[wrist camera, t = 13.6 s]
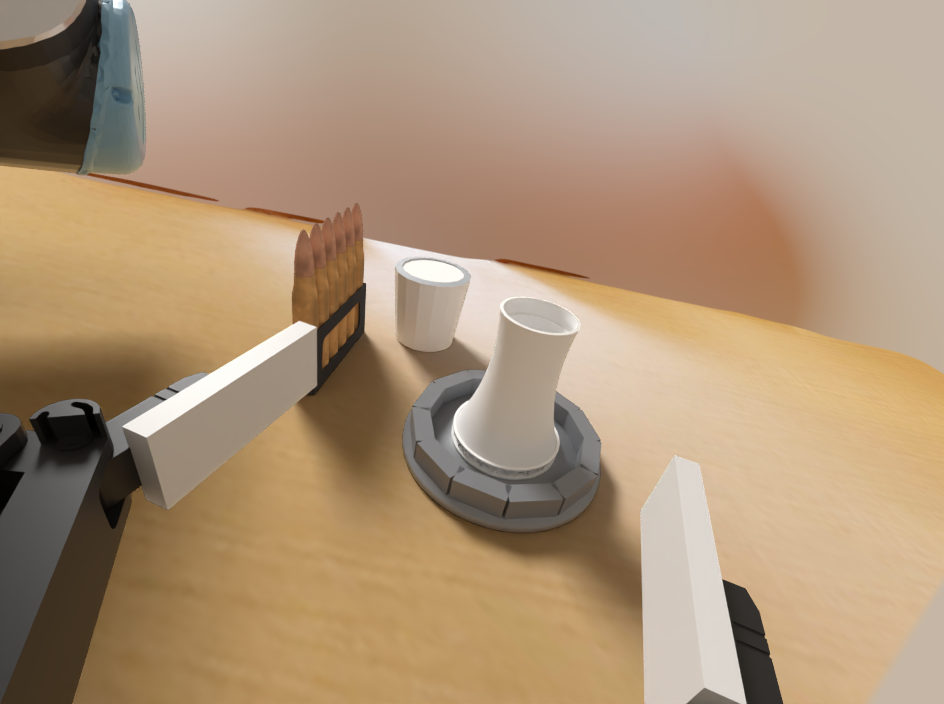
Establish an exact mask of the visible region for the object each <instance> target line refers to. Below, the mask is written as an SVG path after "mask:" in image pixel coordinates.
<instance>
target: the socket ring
mask: <svg viewBox="0 0 944 704" xmlns="http://www.w3.org/2000/svg"><path fill="white" fill-rule="evenodd" d="M486 371H487V370H468V371H466V370H463V371H460V372H457V373H454V374H452V375H449V376H446V377H443V378H440V379H437V380H434V381H433V382H431V383H430V384H429V385H428V387H427V388H426V389H425V390H424V392H423V393H422V394H421V395H420V397H419V398H418V399H417V400H416V402H415V403H414V404H413V407H412V409H411V411H410V412H409V414H408V416H407V419H406V421H405V425H404V430H403V441H402V447H403V453H404V458H405V461H406V463H407V466H408V468H409V470H410V472H411V474H412V476H413V478H414V479H415V480H416V482H417V483H418V484H419V486H420V487H421V488H422V489H423V490H424V491H425V492H426V493H427V494H428V495H429V496H430V497H431V498H432V499H433V500H434V501H436V502H437V503H438V504H439V505H440V506H442V507H443V508H445V509H446V510H448V511H450V512H451V513H453V514H454V515H456V516H458V517H460V518H462V519H464V520H467V521H469V522H471V523H474V524H477V525H480V526H482V527H486V528H490V529H494V530H498V531H505V532H513V533H533V532H541V531H547V530H550V529H554V528H558V527H560V526H562V525H564V524H567V523H569V522H571V521H572V520H574V519H575V518H577V517H578V516H579V515H580V514H581V513H582V512H583V511H584V510H585V509H586V508H587V507H588V505H589V504H590V503H591V501H592V499H593V497H594V495H595V493H596V491H597V488H598V486H599V481H600V462H599V461H600V451H601V442H600V441H601V440H600V438H599V437H598V435H597V433H596V432H595V430H594V429H593V427H592V425H591V424H590V422H589V421H588V419H587V417H586V416H585V414H584V412H583V411H582V410H580V408H579V407H578V406H576V405H575V404H574V403H572V402H571V401H569V400H568V399H566V398H565V397H564V396H562V395H561V394H559V393H558V392H557V391H556V394H555V401H554V427H555V428H556V430H557V433H558V435H559V441H560V445H559V450H558V453H557V455H556V457H555V460H554V463H553V464H552V466H551V467H550V468H549V469H548V470H547V471H546V472H545V473H543V474H542V475H540V476H537V477H535V478H531V479H526V480H507V479H502V478H497V477H494V476H491V475H488V474H486V473H484V472H482V471H480V470H478V469H476V468H475V467H473V466H472V465H470V464H469V463H468V462H467V461H466V460H465V459H464V458H463V457H462V456H461V455H460V454H459V453H458V451H457V450H456V448H455V446H454V444H453V441H452V436H451V430H452V425H453V419H454V415H455V413H456V411H457V410H458V408H459V407H460V406H461V405H462V404H464V403H465V402H467V401H468V400H470V399H471V397H472V396H473V395H474V393H475V392H476V390H477V388H478V387H479V385H480V383H481V381H482V379H483V377H484V375H485V373H486Z"/></svg>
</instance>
